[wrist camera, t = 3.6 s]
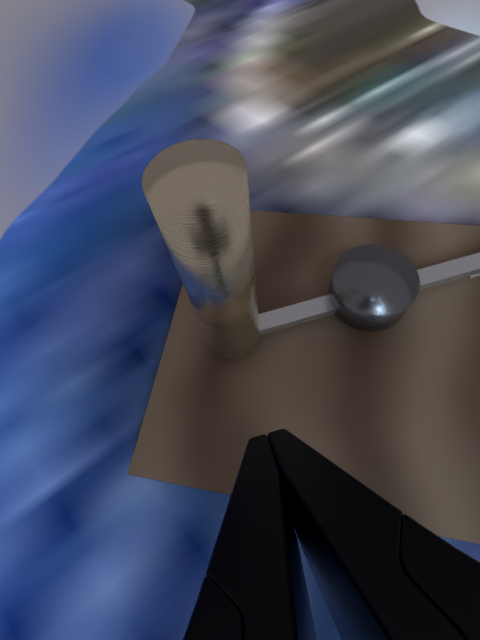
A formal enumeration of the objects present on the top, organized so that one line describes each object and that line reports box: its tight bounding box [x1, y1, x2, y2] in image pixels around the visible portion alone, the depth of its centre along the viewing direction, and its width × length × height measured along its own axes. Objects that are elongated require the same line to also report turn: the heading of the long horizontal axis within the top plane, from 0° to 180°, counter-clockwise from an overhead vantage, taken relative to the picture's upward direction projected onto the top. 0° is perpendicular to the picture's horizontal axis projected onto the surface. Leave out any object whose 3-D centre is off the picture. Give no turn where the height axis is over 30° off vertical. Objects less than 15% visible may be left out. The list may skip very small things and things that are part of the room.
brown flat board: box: [127, 210, 480, 544], centre depth 20 cm, size 24×18×2 cm
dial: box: [142, 139, 480, 359], centre depth 15 cm, size 19×4×11 cm, turn 105°
